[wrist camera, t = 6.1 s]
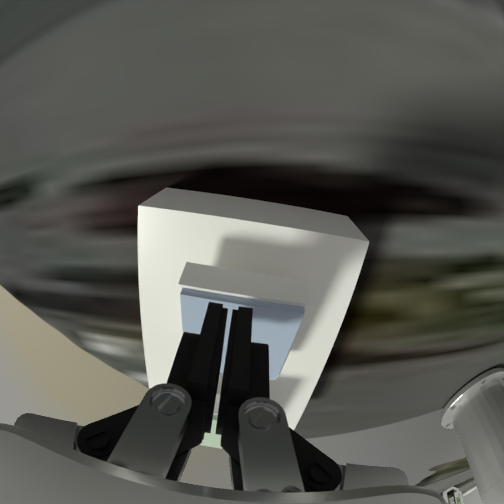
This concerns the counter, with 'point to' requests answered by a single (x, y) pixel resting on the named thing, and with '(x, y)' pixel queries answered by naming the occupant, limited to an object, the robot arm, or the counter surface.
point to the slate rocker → (246, 295)
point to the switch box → (252, 260)
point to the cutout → (453, 496)
